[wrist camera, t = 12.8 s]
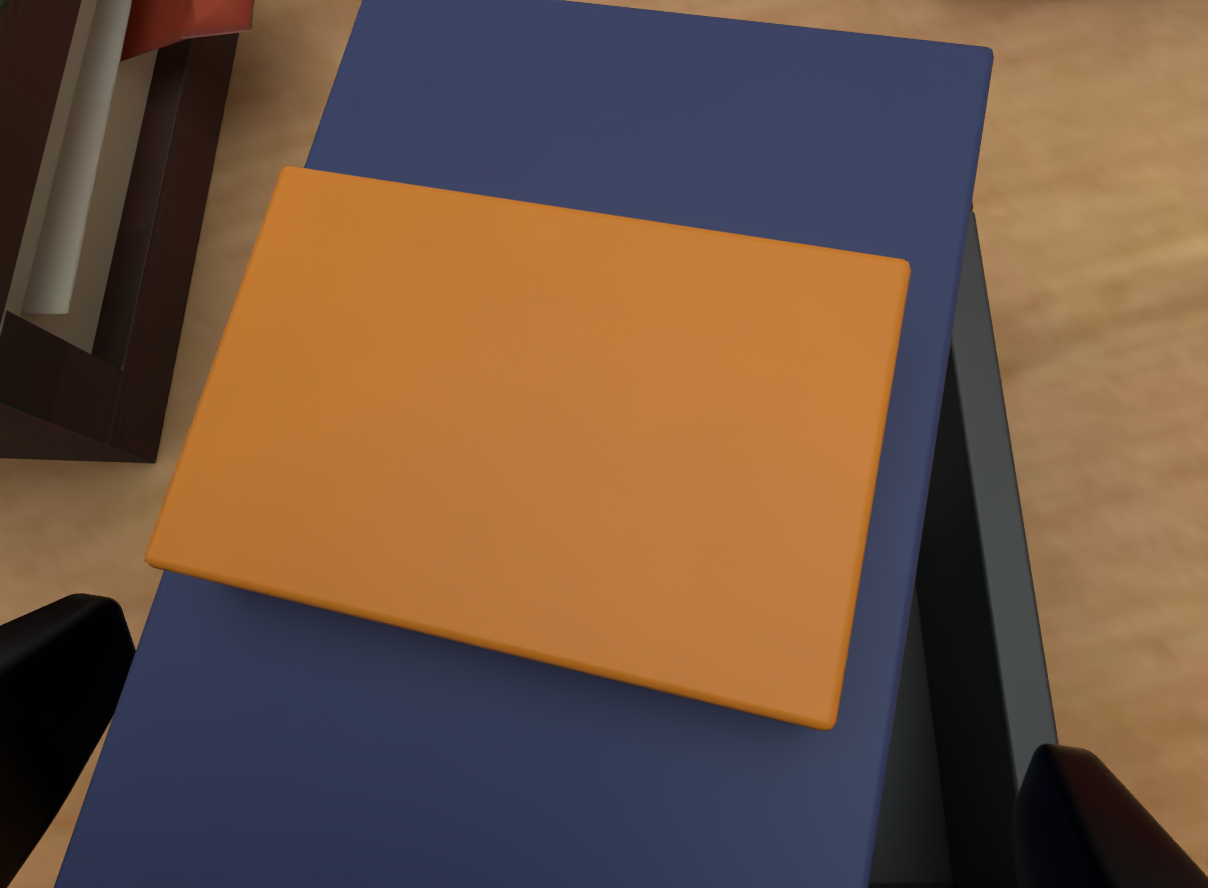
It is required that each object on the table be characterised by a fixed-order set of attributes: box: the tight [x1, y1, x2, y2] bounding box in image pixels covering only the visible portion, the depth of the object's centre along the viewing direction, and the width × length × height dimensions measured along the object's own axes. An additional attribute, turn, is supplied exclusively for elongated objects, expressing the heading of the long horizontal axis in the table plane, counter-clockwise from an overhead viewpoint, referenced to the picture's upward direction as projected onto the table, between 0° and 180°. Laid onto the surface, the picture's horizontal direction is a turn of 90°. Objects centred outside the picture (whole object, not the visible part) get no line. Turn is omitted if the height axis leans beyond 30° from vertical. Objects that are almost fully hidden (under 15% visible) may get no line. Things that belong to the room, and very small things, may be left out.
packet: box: [54, 0, 994, 888], centre depth 11 cm, size 6×4×14 cm
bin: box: [869, 202, 1059, 888], centre depth 16 cm, size 12×12×5 cm
